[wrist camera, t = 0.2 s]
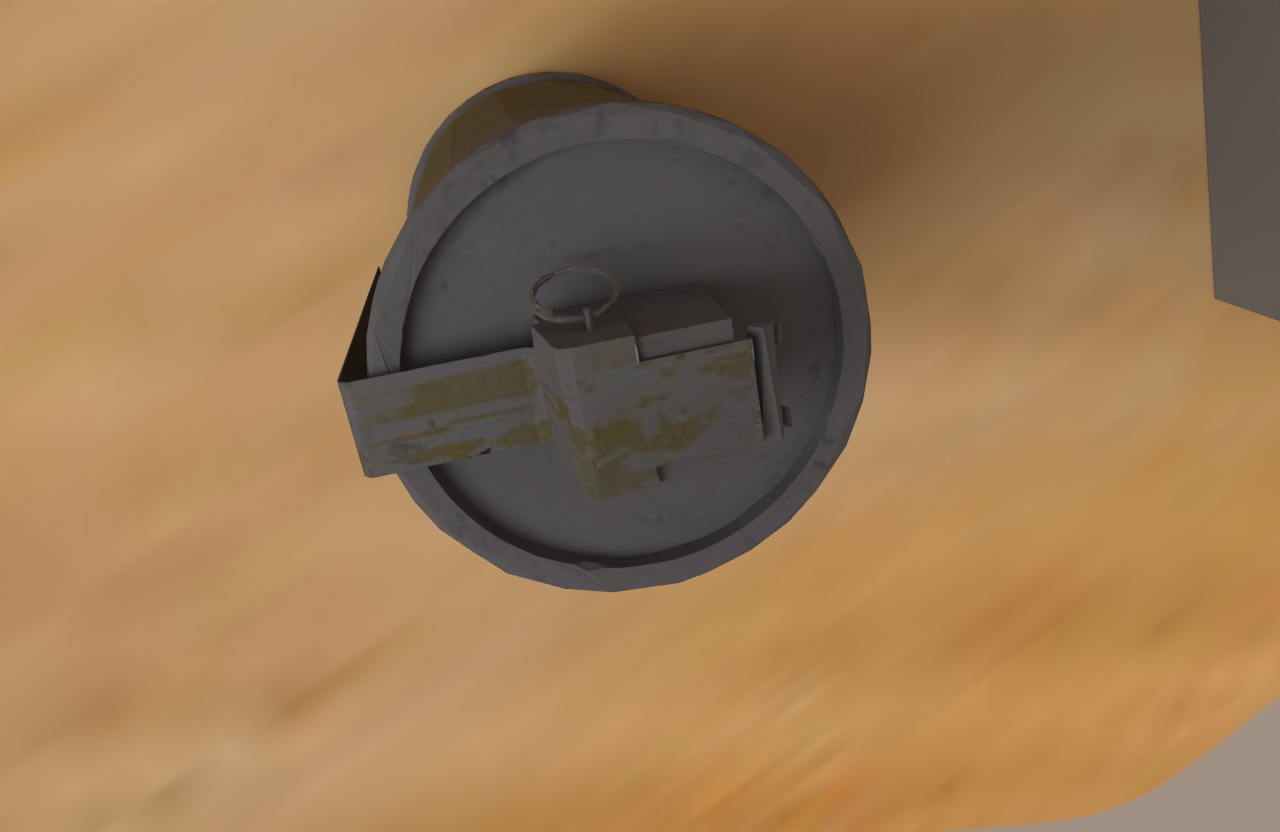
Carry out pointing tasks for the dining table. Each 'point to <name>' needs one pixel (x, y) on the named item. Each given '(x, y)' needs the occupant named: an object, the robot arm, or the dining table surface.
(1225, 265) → the box
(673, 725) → the dining table surface
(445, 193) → the canister
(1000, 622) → the dining table surface
